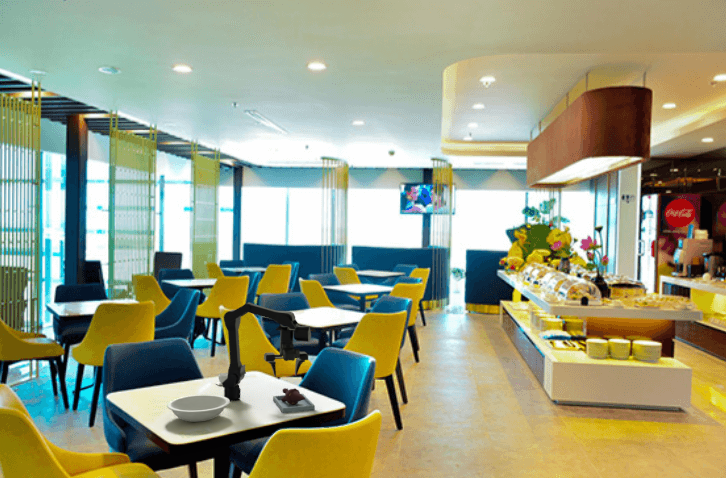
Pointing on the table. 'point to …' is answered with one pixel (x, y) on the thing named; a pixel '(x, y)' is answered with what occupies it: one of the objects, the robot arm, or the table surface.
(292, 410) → the tray
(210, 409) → the soup bowl
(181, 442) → the table surface
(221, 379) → the teacup
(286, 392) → the icecream
